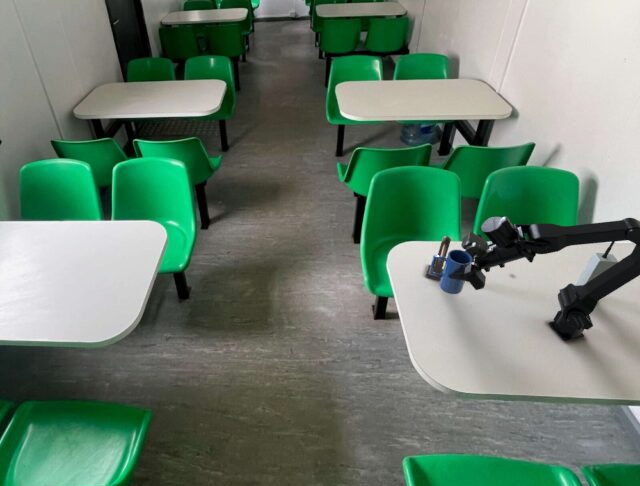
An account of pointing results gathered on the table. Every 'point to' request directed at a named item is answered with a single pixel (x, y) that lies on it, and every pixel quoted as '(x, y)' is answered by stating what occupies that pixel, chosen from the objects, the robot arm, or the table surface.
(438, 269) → the mug rack
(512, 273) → the table surface
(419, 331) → the table surface
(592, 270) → the vintage mobile phone
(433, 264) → the mug
